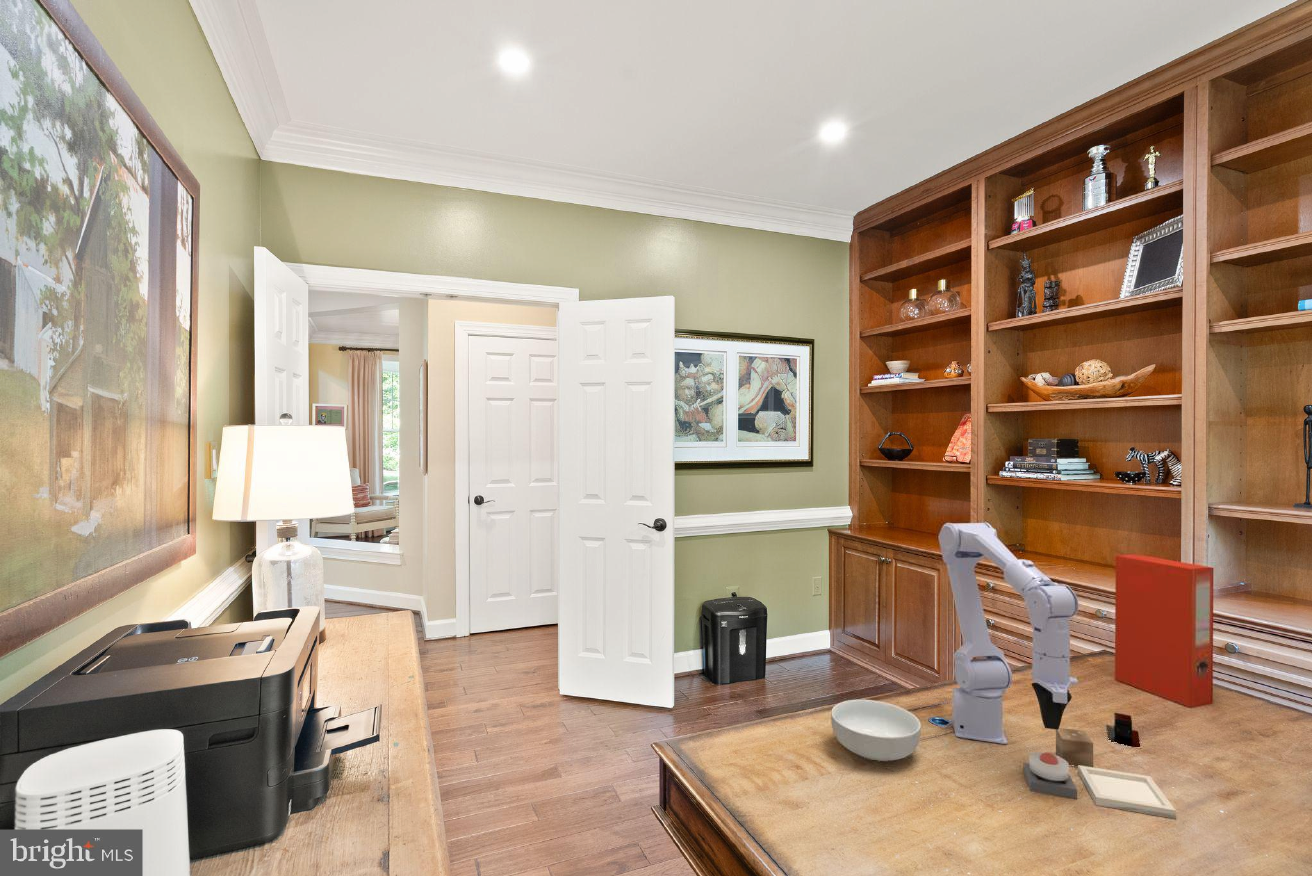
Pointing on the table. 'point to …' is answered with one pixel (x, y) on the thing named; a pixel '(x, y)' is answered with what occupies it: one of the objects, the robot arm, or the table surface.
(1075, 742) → the die
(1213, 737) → the table surface
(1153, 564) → the file binder
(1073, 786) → the grey button base
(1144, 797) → the die pad
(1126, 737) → the black tapered mount
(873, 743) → the cereal bowl
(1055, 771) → the dome
